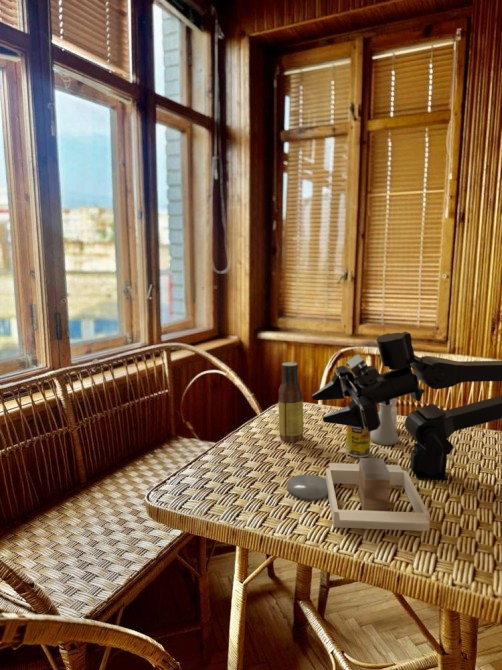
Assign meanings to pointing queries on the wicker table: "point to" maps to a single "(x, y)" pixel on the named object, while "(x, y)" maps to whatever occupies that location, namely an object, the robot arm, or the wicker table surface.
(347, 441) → the supplement bottle
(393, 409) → the pepper shaker
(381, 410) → the flask
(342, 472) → the beige square frame
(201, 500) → the wicker table surface
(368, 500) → the gray box
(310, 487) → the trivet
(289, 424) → the sauce bottle
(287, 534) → the wicker table surface
